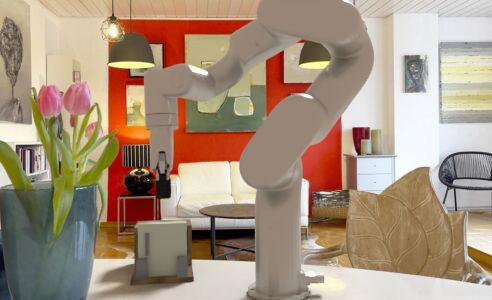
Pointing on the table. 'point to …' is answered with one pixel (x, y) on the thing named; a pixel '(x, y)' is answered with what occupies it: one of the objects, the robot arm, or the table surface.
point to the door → (162, 246)
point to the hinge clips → (143, 267)
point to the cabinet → (164, 278)
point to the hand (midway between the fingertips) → (164, 196)
